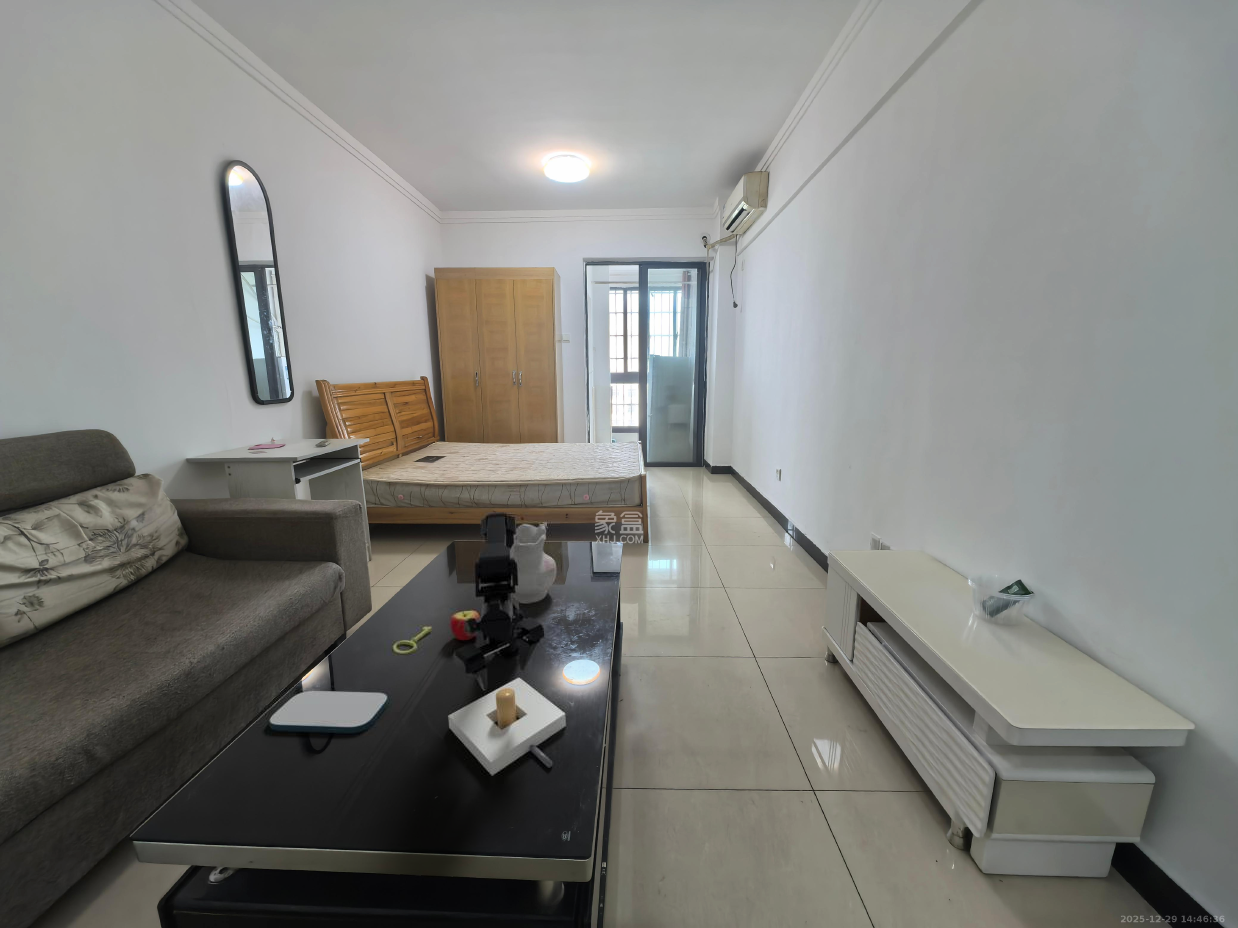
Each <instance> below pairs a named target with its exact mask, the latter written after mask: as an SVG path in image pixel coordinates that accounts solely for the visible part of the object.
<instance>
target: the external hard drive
mask: <svg viewBox="0 0 1238 928" xmlns="http://www.w3.org/2000/svg"><path fill="white" fill-rule="evenodd" d="M388 705H389V696H388V695H387V694H386V693H383V692H373V691H372V692H371V691H369V692H367V691H337V690H336V691H333V690H308V691H307V690H306V691H302V692H300V693H298V694H295V695H294V696H292V697H291V698H290V699H288V700H287V701H286V702H285V703H284V704H283V705H282V706H281V707H279V708H278V709H277V710H276V711H275V712H274V713H273V714H272V715H271V717H270V718H269V720H268V725H269V728H270V729H271V730H273V731H276V732H291V733H292V732H294V733H295V732H296V733H299V732H300V733H326V734H328V733H329V734H357V733H361V732H364V731H366V730H368V729H369V728H371V727H372V726H373V725H374V724H375V722H376V721H377V720H378V719H379V718H380V717H381V715H382V713H383V712H384V711H385V710H386V709H387V707H388Z"/></svg>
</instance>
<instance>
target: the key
mask: <svg viewBox="0 0 1238 928" xmlns="http://www.w3.org/2000/svg"><path fill="white" fill-rule="evenodd" d="M432 630H433V627H432V626H424V627H423V628H422V631H421V633H419V634H418V635H416V636H415V637H411V639H410V640H408V639H407V640H404V639H403V640H399V641H397V642H396V643H395V644H393V646H392V651H393V652H394V653H396V654H401V655H407V654H409V655H410V654H412V653H414V652H416V651H417V649H418V646H417V642H418V641H419V640H420V639H422V638H423V637H424V636H425V635H427V634H428V633H430V632H431V631H432ZM402 645H407V646H411V647H412V648H411V649H408V650H400V649H398V648H397V647H398V646H402Z"/></svg>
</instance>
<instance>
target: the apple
mask: <svg viewBox="0 0 1238 928" xmlns="http://www.w3.org/2000/svg"><path fill="white" fill-rule="evenodd" d="M458 610H459V611H460V612H456V613H455V614H453V615H452V616H451V618H450V624H449V625H450V630H451V633H452V634H453V636H454V637H455V638H456V639H457V640H460V641H469V640H471V639H472V638H475V637H476V636H475V634H473V635H467V634H466V632H465V627H464V621H465V620H467V619H470V618H475V619H478V618H480V617H481V615H480V614H479V613H478V611H476V610H464V611H463V609H461V608H458Z"/></svg>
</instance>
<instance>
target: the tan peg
mask: <svg viewBox="0 0 1238 928" xmlns="http://www.w3.org/2000/svg"><path fill="white" fill-rule="evenodd" d="M496 706H497V719H498V721H497V726H498V727H499V728H500V729H501V730H503V729H504V728H506V727H508V726H509V725H511V724H513V723H514V722H516V721H517V720H518V719H517V718H518V717H517V716H516V703H515V691H514V690H513V689H510V688H505V689H501V690H500V691H498V692H497V693H496Z"/></svg>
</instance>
